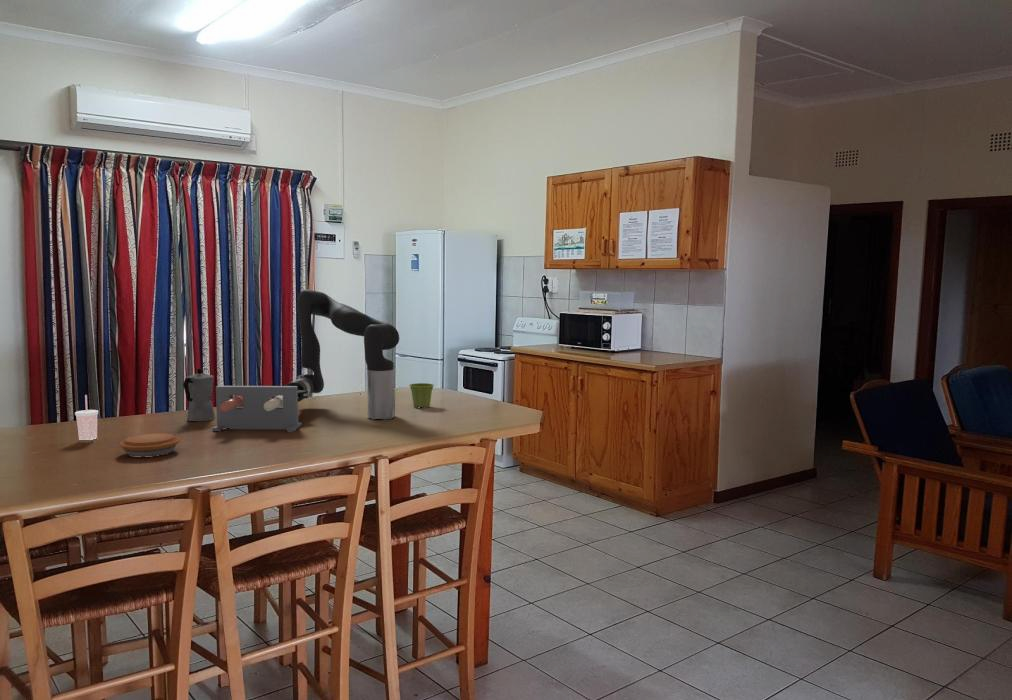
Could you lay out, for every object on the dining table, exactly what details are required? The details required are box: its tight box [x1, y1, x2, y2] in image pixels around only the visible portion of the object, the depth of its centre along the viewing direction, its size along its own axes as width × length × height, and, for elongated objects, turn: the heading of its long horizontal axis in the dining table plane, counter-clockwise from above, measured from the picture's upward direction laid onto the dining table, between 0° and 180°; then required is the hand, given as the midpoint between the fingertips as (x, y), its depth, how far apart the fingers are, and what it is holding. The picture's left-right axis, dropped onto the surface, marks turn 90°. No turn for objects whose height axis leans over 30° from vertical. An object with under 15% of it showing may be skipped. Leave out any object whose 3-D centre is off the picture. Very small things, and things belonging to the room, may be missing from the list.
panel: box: [211, 385, 303, 433], centre depth 242 cm, size 26×10×14 cm, turn 90°
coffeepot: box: [182, 368, 216, 422], centre depth 255 cm, size 15×9×18 cm, turn 169°
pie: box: [119, 432, 181, 457], centre depth 208 cm, size 15×16×5 cm
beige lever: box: [264, 396, 283, 411], centre depth 240 cm, size 5×15×5 cm, turn 0°
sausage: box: [220, 395, 243, 412], centre depth 238 cm, size 5×15×5 cm, turn 0°
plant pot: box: [408, 382, 435, 408], centre depth 284 cm, size 9×9×9 cm
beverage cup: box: [74, 394, 99, 441], centre depth 223 cm, size 6×6×14 cm
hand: (282, 398), depth 248 cm, fingers closed
